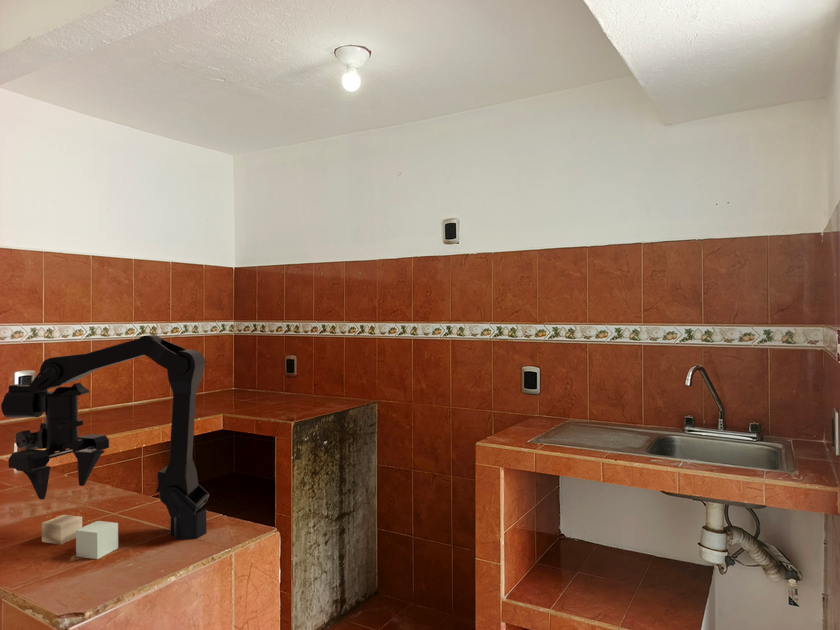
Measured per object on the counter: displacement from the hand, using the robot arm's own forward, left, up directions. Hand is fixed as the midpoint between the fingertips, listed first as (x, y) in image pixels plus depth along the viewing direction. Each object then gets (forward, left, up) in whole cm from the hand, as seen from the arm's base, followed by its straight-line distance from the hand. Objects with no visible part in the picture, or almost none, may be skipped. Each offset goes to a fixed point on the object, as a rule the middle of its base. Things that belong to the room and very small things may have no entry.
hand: (62, 492), depth 116 cm
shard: (-12, +3, -12) cm, 17 cm away
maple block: (0, 0, -11) cm, 11 cm away
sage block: (-13, +4, -10) cm, 16 cm away
